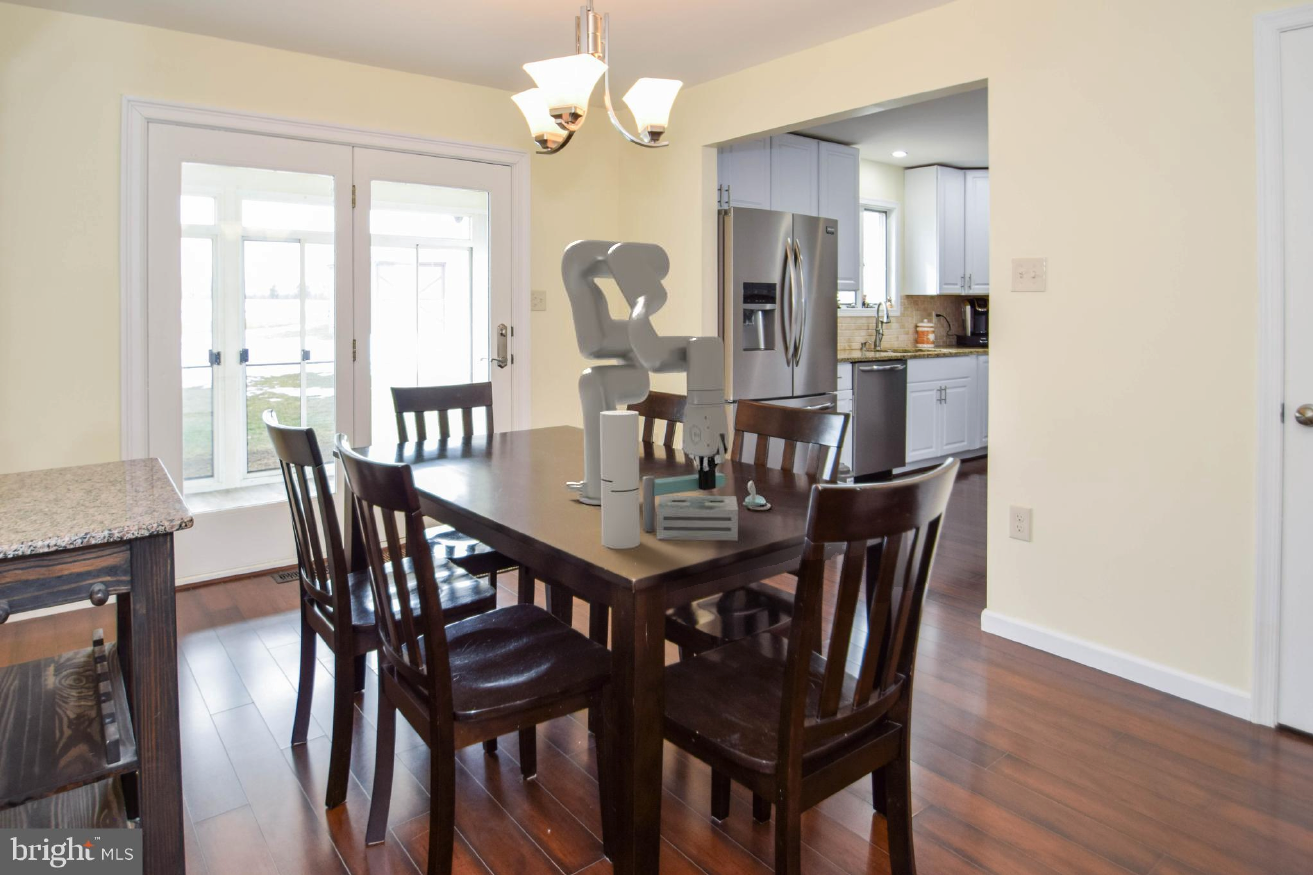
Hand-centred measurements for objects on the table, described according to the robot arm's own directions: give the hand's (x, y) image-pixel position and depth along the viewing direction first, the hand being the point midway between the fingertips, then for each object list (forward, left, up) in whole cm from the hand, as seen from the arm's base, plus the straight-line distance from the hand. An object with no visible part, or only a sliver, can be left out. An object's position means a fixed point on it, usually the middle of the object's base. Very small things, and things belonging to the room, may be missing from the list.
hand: (707, 488), depth 162 cm
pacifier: (+11, +18, -8) cm, 23 cm away
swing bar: (-5, +1, -8) cm, 9 cm away
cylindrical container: (-16, -13, -8) cm, 22 cm away
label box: (-2, -4, -8) cm, 9 cm away
